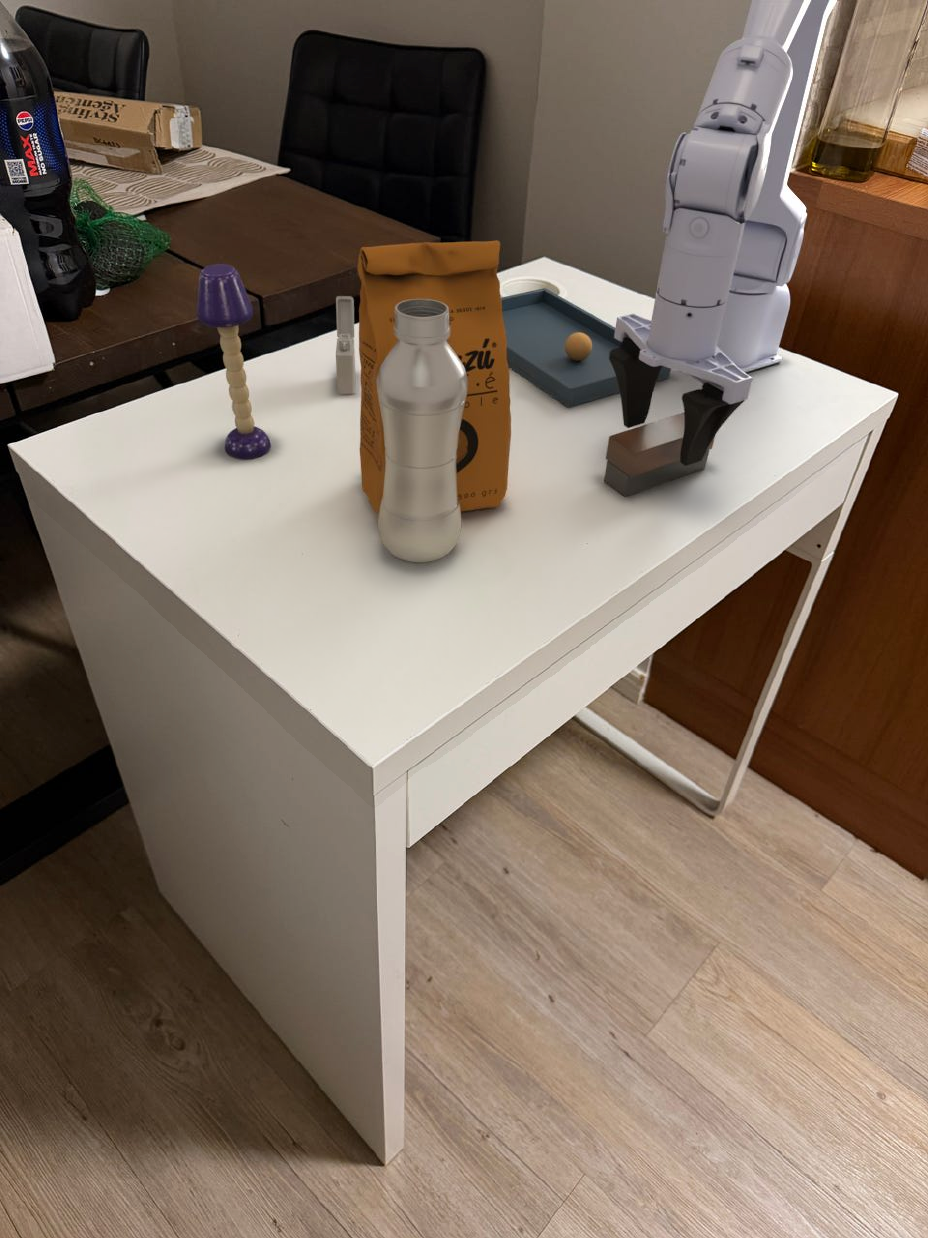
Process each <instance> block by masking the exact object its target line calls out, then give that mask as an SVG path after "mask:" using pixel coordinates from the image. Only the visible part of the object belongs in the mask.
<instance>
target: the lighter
mask: <svg viewBox="0 0 928 1238" xmlns="http://www.w3.org/2000/svg"><path fill="white" fill-rule="evenodd" d="M354 304H355V300H354V297H353V296H352V295H337V296H336V297H335V309H336V311H335V312H336V337H337V338H336V345H335V347H336V348H335V366H336V367H335V368H336V382H337V383H336V385H337V386H336V387H337V394H338V395H355V393H356V359H355V358H356V356H355V352H356V351H355V339H354V338H355V305H354Z"/></svg>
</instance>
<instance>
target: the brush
mask: <svg viewBox="0 0 928 1238" xmlns="http://www.w3.org/2000/svg"><path fill="white" fill-rule="evenodd" d="M684 424H685V418H684V412H681V413H677V414H674V415H671V416H668V417H665V418H662V419H661V418H660V419H658V420H655V421H653V422H649V423H645V424H642V425H638V426H637V427H636V426H635V427H632V428H629V429H627V430H623V431H621V432H620V431H619V432H617V433H614V434H611V435H609V436H608V441H607V447H606V452H605V453H606V454H605V460H606V467H605V471H604V479H603V482H604V483H606V484H607V485H608V486H609V487H611V488H612V489H614V490H615V491H616V492H617V493H619V494H620V495H622V496H623V497H628V496H631V495H633V494H637V493H639V492H642V491H645V490H649V489H652V488H653V487H656V486H659V485H661V484H665V483H667V482H670V481H673V480H676V479H678V478H681V477H682V478H683V477H684V476H687V475H689V474H693V473H696V472H698V471H701V470H704V469H706V466H707V461H708V458H709V455H710V450H712V449H713V447H714V443H715V439H716V436H715V437H714V438H713V440H712V442H711V443H710V445H709V447H708V449H707V451H706V453H705V455H704V457H703V459H702V461H699V462H696V463H694V464H691V465H688V466H685V465H683V464H682V463H680V452H681V446H682V441H683V435H684Z"/></svg>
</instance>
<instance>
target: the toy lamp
mask: <svg viewBox="0 0 928 1238" xmlns="http://www.w3.org/2000/svg"><path fill="white" fill-rule="evenodd" d="M198 279H199V280H198V289H197V291H198V292H197V307H196V314H197V315H196V316H197V319H198V320H199V322H200V323H201V324H203V325H205V326H208V327H211V328H217V331H218V334H219V335H220V339H219V344H220V348H221V350H222V352H223V355H222V361H223V364H224V365H223V366H224V367H225V368H226V369H225V379H226V381H227V384H228V385H229V386H228V394H229V397H230V399H231V400H232V402H231V409H232V412H233V414H234V425H235V427H234V428H233V429H232V430H230V432H229V433H228V434H227V436H226V438H225V441H224V451H225V453H226V454H227V455H228V456H230V457H232V458H234V459H240V460H249V459H250V460H251V459H256V458H259V457H262V456H265V454H267V453H268V452H269V451H270V449H271V447H272V446H271V445H272V443H271V440H270V437H269V436H268V434H267V433H266V432H265V431H264V430H263V429H261V428H260V427H257V426H255V419H254V416H252V411H253V409H252V404H251V401H250V390H249V387H248V385H247V373H246V370H245V368H244V361H245V360H244V355H243V354H242V352H241V349H242V342H241V338H240V337H239V335H238V334H239V325H243V324H245V323H247V322H248V321H250V320H251V319H252V318H253V316H254V309H253V306H252V302H251V301H250V298H249V295H248V293H247V291H246V289H245V286H244V284H243V281H242V279H241V276H240V274H239V272H238V270H237V269H236V268H235V267H234V266H233V265H229V264H225V263H224V264H223V263H221V264H220V263H219V264H211V265H207V266H206V267H203V268H202V269H201V271H200V273H199V278H198Z"/></svg>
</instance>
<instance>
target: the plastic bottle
mask: <svg viewBox="0 0 928 1238" xmlns="http://www.w3.org/2000/svg"><path fill="white" fill-rule="evenodd" d="M394 335H395V337H396V338H398V341H397V343H396V344H395V345H394V347H393V348H392V349H391V350H390V352H389V353H388V355H387V356H386V358H385V359H384V361H383V363H382V364H381V366H380V369H379V373H378V376H377V380H376V382H377V393H378V398H379V404H380V410H381V416H382V422H383V429H384V444H385V459H386V466H385V478H384V490H383V497H382V501H381V505H380V511H379V515H378V519H377V526H378V530H379V531H378V532H379V535H380V541H381V542H382V544H383V546H384V547H385V548H386V549H387V550H388V552H389V553H390V554H391V555H392V556H394V557H396V558H398V559H400V560H403V561H407V562H412V563H429V562H433V561H434V562H435V561H438V560H440V559H442V558H444V557H446V556H447V555H448V554H449V553H450V552H451V551H452V550H453V549H454V548H455V546H456V545H457V544H458V542H459V539H460V535H461V530H462V526H463V521H462V511H461V509H460V504H459V499H458V492H457V471H456V459H457V448H458V440H459V430H460V425H461V420H462V415H463V410H464V405H465V401H466V396H467V388H468V379H467V375H466V371H465V368H464V366H463V364H462V362H461V361H460V359H459V358H458V356H457V354H456V353H455V352H454V350H453V349H452V348H451V347H450V345H449V344H448V343H447V340H446V339H448V338H449V337H450V325H449V308H448V306H447V305H446V304H444V303H442V302H440V301H436V300H431V299H410V300H405V301H402V302H400V303H398V304H397V305H396V306H395V325H394Z"/></svg>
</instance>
